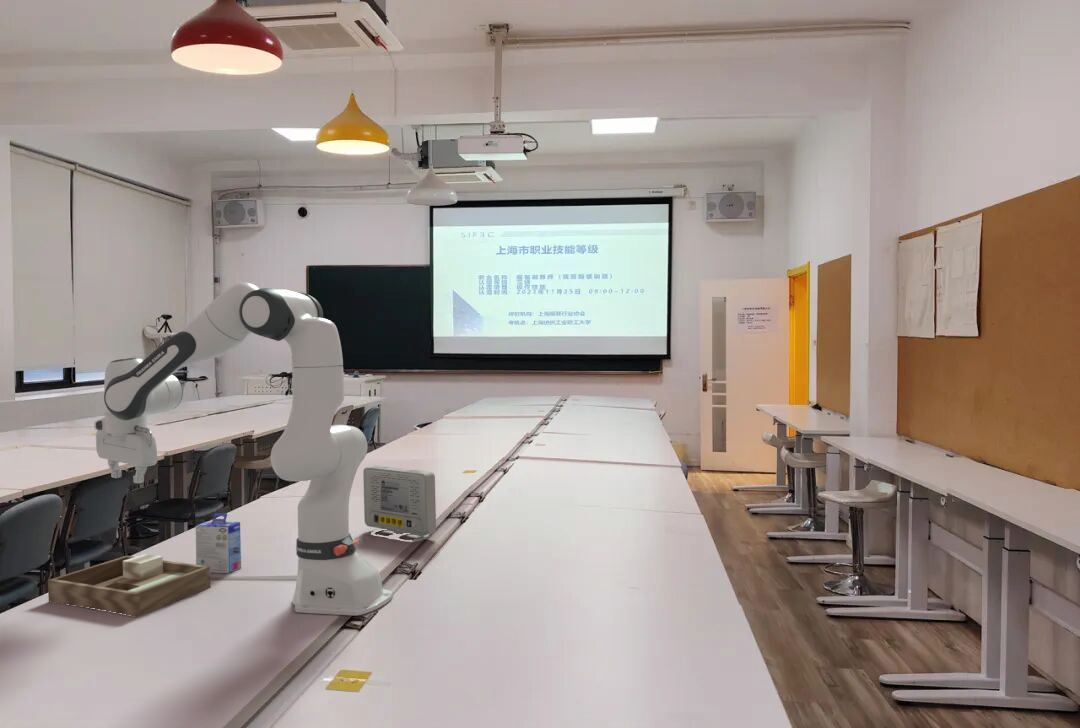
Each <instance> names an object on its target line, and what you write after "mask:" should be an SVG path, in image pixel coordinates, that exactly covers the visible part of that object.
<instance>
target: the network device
mask: <svg viewBox="0 0 1080 728" xmlns="http://www.w3.org/2000/svg"><path fill="white" fill-rule="evenodd" d="M362 474H363V475H362V477H363V505H364V506H363V511H364V513H363V514H364V515H363V516H364V524H365V525H366V527H370V528H377V529H387V530H386V531H392V530H393V533H396V534H403V533H410V534H409V535H415V534H416V536H419V537H416V538H413V540H412V539H411V540H412V541H413V542H412V543H419V542H420V541H424V540H426V539H429V536H430V535H431V534H434V533H435V532H436V530H437V515H436V514H437V510H436V509H437V508H436V505H437V503H436V502H437V501H436V476H435V473H434V472H433V471H429V470H419V469H410V468H401V467H400V468H399V467H392V466H383V465H372V466H371V465H370V466H368V467H364V468H363V473H362Z"/></svg>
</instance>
